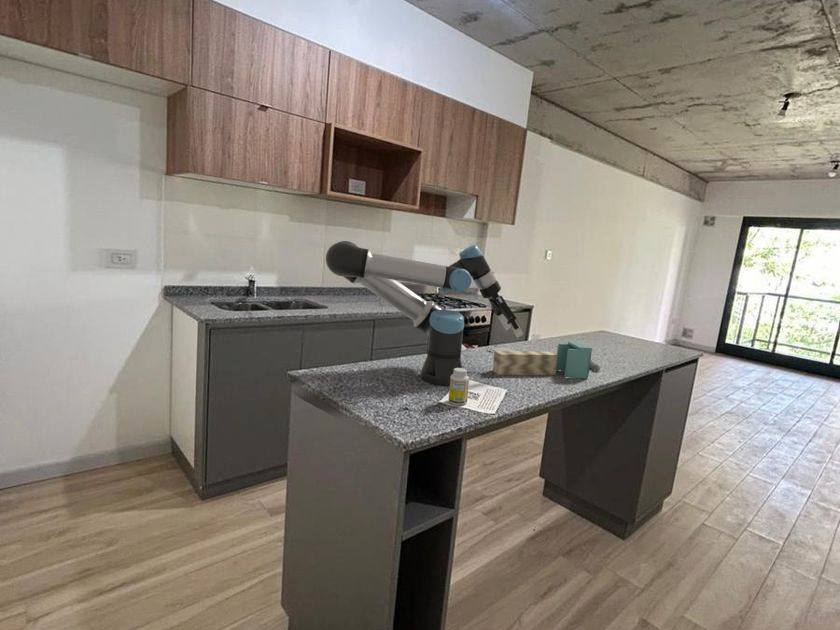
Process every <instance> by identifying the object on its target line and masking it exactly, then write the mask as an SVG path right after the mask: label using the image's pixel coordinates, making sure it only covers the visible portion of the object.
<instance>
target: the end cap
mask: <svg viewBox="0 0 840 630" xmlns="http://www.w3.org/2000/svg"><path fill="white" fill-rule="evenodd" d="M592 353H593V348H592V347H591V346H589V345H587V344H585V343H583V342H581V341H567V343H557V349H556V354H557V355H558V356H557V364H556V370H561V371H560V372H564V378H565V377H571V378H570V379H581V378H588V379H589V373H590V360H592Z"/></svg>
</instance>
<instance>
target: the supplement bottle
mask: <svg viewBox="0 0 840 630" xmlns="http://www.w3.org/2000/svg"><path fill="white" fill-rule="evenodd" d="M469 380H470V377H469V376H468V370H467V369H466V368H455V369H454V372H453V374H452V375H451V377H450V385H449V388H448V389H449V390H448V402H449V403H450V404H452V405H454V404H455V405H456V406H464V405H466V404H467V402H468V394H469V386H470V385H469V384H470V383H469V382H470V381H469Z"/></svg>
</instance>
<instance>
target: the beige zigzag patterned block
mask: <svg viewBox="0 0 840 630" xmlns="http://www.w3.org/2000/svg"><path fill="white" fill-rule="evenodd" d="M557 356H558V355H557V353H555V352H553V351H533V350H532V351H529V350H525V351H523V350H514V351H495V352H494V353H493V362H492V363H493V365H492V372H494V373H495V374H496V375H506V376H508V375H515V376H516V375H518V376H519V375H530V374H541V375H556V372H557V371H556V364H557Z"/></svg>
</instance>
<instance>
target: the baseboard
mask: <svg viewBox="0 0 840 630" xmlns="http://www.w3.org/2000/svg"><path fill="white" fill-rule="evenodd" d="M504 346H505V345H502V347H499V346H498V345H495V347H496V348H495V347H494V348H490V346H488V348H487V349H485V350H486V352H488V351H491V352H495V351H515V350H514V349H510V348H507V347H504ZM498 347H499V348H498ZM489 348H490V349H489ZM491 352H490V353H491Z"/></svg>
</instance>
